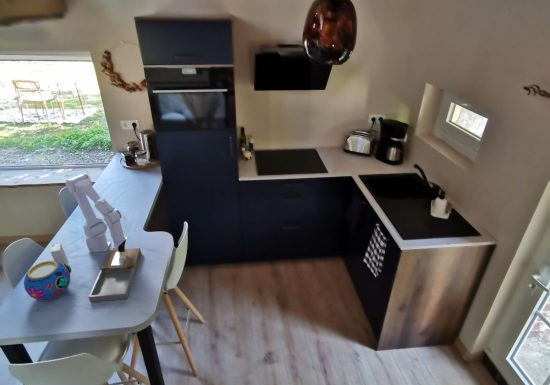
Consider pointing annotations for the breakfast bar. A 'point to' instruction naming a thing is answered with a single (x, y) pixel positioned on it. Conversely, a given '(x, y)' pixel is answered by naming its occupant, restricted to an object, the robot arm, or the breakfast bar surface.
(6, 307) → the breakfast bar surface
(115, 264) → the blue grey tile
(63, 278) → the ceramic pot
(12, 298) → the breakfast bar surface
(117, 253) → the cream tile
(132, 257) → the tan wooden board
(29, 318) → the breakfast bar surface
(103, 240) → the robot arm
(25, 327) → the breakfast bar surface
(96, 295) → the bin
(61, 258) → the skincare box
